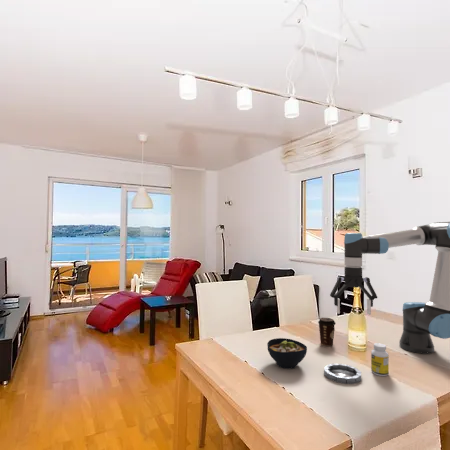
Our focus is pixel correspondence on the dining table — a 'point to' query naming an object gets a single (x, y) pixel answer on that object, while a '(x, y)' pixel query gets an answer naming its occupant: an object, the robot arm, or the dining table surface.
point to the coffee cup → (326, 331)
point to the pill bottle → (379, 360)
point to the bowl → (286, 352)
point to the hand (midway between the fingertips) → (353, 313)
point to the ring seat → (342, 373)
